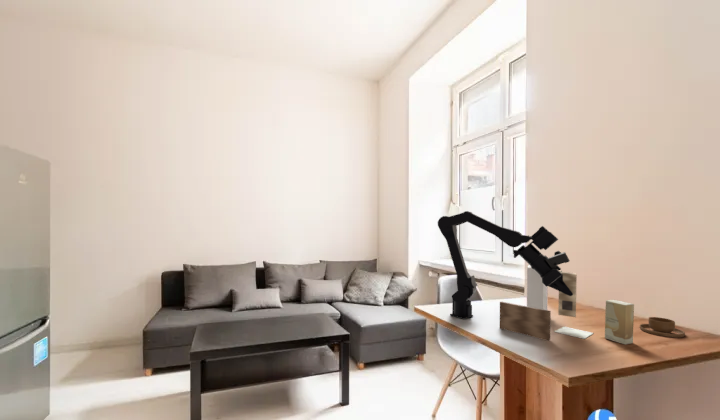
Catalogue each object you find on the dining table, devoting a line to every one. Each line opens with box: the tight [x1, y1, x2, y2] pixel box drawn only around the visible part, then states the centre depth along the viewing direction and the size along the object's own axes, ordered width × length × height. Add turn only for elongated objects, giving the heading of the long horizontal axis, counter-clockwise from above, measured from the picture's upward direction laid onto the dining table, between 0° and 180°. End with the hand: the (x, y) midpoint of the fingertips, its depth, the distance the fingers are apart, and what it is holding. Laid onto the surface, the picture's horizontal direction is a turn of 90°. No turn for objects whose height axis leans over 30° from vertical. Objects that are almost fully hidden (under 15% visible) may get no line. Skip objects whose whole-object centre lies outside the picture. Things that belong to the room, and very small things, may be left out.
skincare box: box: [604, 299, 635, 345], centre depth 112 cm, size 6×4×12 cm
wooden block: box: [557, 271, 578, 318], centre depth 121 cm, size 5×5×14 cm
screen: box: [499, 301, 552, 342], centre depth 117 cm, size 16×1×9 cm, turn 41°
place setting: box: [639, 316, 686, 339], centre depth 125 cm, size 18×20×6 cm
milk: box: [526, 264, 549, 310], centre depth 140 cm, size 6×6×22 cm
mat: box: [554, 326, 594, 340], centre depth 119 cm, size 9×9×1 cm
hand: (571, 293), depth 120 cm, fingers closed on wooden block, 5 cm apart
